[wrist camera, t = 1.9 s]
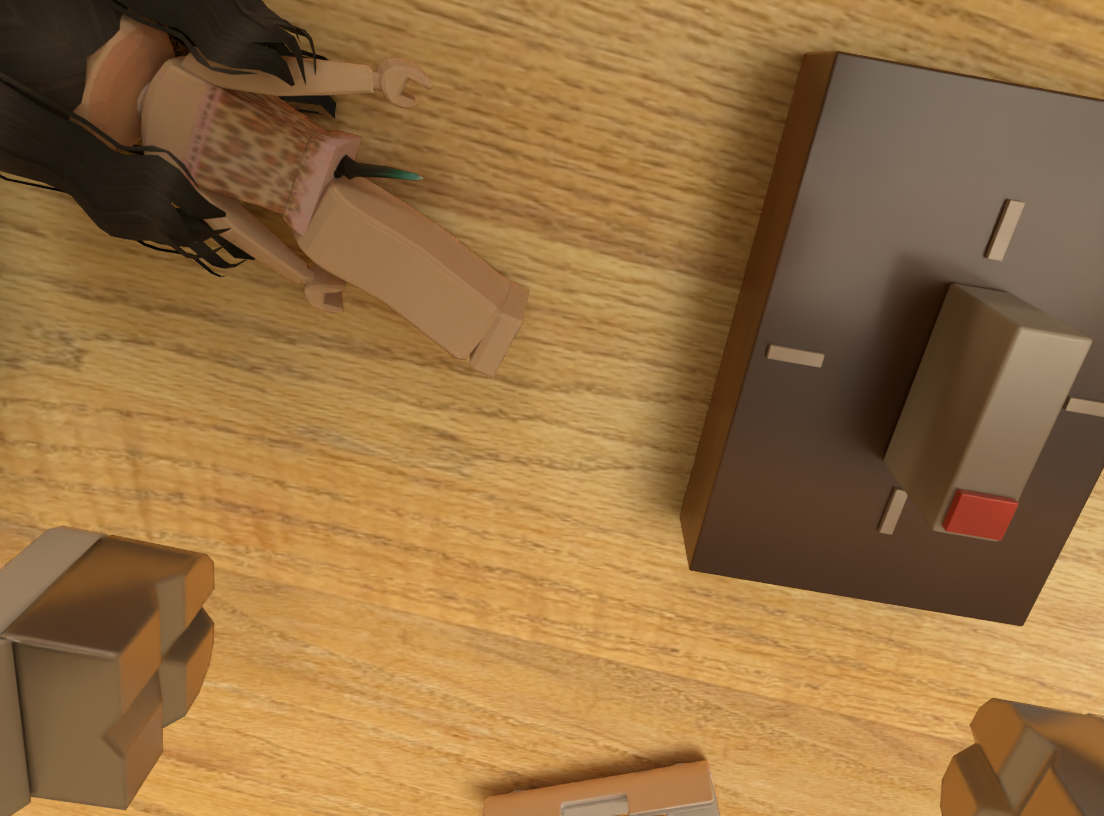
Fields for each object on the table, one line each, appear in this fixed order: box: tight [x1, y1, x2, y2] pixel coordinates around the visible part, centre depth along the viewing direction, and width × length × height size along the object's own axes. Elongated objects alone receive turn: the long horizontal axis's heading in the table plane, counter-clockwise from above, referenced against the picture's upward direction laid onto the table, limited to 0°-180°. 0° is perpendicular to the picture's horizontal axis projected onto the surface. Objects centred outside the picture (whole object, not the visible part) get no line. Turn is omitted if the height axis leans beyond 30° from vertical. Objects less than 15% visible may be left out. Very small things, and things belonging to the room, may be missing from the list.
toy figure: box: [0, 0, 530, 378], centre depth 19 cm, size 7×6×15 cm
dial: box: [884, 284, 1092, 541], centre depth 19 cm, size 5×2×4 cm, turn 171°
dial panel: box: [680, 51, 1104, 626], centre depth 22 cm, size 14×10×3 cm
